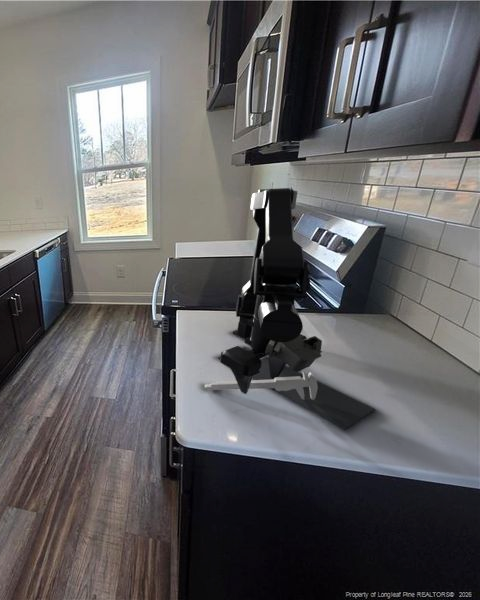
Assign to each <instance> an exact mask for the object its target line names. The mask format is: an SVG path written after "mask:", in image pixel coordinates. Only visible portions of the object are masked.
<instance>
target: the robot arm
mask: <svg viewBox="0 0 480 600" xmlns="http://www.w3.org/2000/svg"><path fill="white" fill-rule="evenodd" d="M298 192H299V191H298V190H294V189H293V188H292V189H291V188H290V187H282V188H281V187H279V188H263V189H258V190H257V191H256V192H254V193H252V195H251V199H250V200H251V201H250V211H252V217H253V220H254V222H255V224H256V226H257V230H256V236H255V243H254V249H253V257H252V265H251V269H250V270H251V271H250V275H249V276H250V277H249V280H248V281H247V282H246V284H245V285H244V286H243V287H242V288H241V294H240V295H238V296H237V300H236V304H235V305H236V306H235V317H237V318H239V319H238V323H237V329H236V330H233V331H232V334H233V335H236V336H237V337H239V338H242V339H244V344H247V345H248V346H250V349H251V350H249V351H247V350H245V349H243V347H241V346H239V345H236V346H233V347H231V348H228V349H225V350H223V351H221V352H220V356H221V358H220V359H219V361H220V364H222V365H224V366H226V367H227V368H229V369H230V370H231V372H232V374H233V376H234V379H235V381H237V383H238V386H239V388H240V389H239V390H240V392H241V393H242V394H243V395H247V394H248V392H249V390H250V389H249V386H250V383H251V380H253V378H252V376H254V375H256V374H258V373H260V371H259V369H260V368H261V364H262V362H261V359H263V358H265V357H268V359H269V370H270V376H271V378H272V379H274V378H277V377H279V375H280V374H281V372H282V370H283V369H284V367H285V366H287V367H289V368H290V369H292V370H293V371H296V372H299V373H300V372H301V371H303V370H305V369H306V368H310V367H311V366H312V365H313V363H314V362H315V361H316V360H317V359H319V358H321V357H322V353H323V351H322V346H323V344H322V343H323V341H322V340H321V339H320V338H319V337H317V336H316V335H313V336H311V337H310V336H309V337H307V336H306V335H303V334H301V333H302V332H303V329H304V324H303V321H302V318H301V317H300V314H299V312H298V310H297V308H296V306H295V301H296V299H307V295H308V294H307V292H310V289H311V273H310V270H311V268H310V266H309V265H308V261H307V259H305V257H304V250H303V247H302V245H300V244H299V243H298V242H297V241H295V240H294V231H293V213H292V210H294V209H296V205H297V198H298V197H297V196H298ZM297 283H298V286H296V285H297Z"/></svg>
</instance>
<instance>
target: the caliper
mask: <svg viewBox="0 0 480 600" xmlns="http://www.w3.org/2000/svg"><path fill="white" fill-rule="evenodd" d="M302 374H303V378H301V377H300V376H295V377H277V378H274V379H270V380H255V379H252V380H251V383H250V386H249V389H248V390H255V389H257V390H259V389H271V388H276V389H277V391H282V390H283V391H288V390H291V389H296V390H297V392H298V394H299V395H300V397H301V399H303V400H304V389H303V387H309V390H310V397H311V399H312V400H314V399H315V398H316V394H317V389H318V386H317V381H318V379H317V378H316V376H315V375H313V373H312V371H309V372H308V373H307V374H306V373H305V371H302ZM307 376H308V377H307ZM204 389H211V391H226V390H230V391H231V390H240V388H239V386H238V383H237V381H236V380H225V381H222V380H221V381H210V383H206V384H204ZM277 391H276V392H277Z"/></svg>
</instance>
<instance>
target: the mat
mask: <svg viewBox="0 0 480 600" xmlns="http://www.w3.org/2000/svg"><path fill="white" fill-rule="evenodd" d="M242 348H243V349H245V350H247V351H249V350H251V349H252V348H250V347H247V346H243V347H242ZM220 358H221V355H219V356H218V357H217V359H218V360H220ZM261 362H262V364H261V368H260V369H259V371H260V373H258V374H256V375H254V376H252V379H253V380H270V379H272V378H271V376H270V370H269V359H268V357H265V358H263V359H261ZM295 376H300V377H301V378H303V373H301V372H300V371H299V372H296V371H293V370H292V369H290V368H289V366H288V365H286V366H285V367H284V369H283V370H282V372H281V374H280V375H279V377H295ZM306 376H307V375H306ZM307 377H308V376H307ZM317 386H318V389H317V394H316V398H315V399H314V400H312V399H311V397H310V390H309V387H303V389H304V400H303V399H301V397H300V395H299V394H298V392H297V390H296V389H291V390H288V391H283V390H282V391H277V389H276V388H270V389H271V390H273V391H275V392H277V393H278V394H280V395H282V396H284V397H286V398H287V399H289V400H290V401H291V400H292V401H293V402H294V403H297V404H298V405H300V406H301V407H303V408H305V409H306V410H309V411H311V412H312V413H314V414H316V415H318V416H319V417H321V418H323V419H325V420H327V421H328V422H330V423H332V424H333V425H336V426H337V427H339V428H341V429H342V430H343V431H345V430H347V429H349V428H350V427H352V426H353V425H355V424H356V423H358V422H359V421H361V420H362V419H364V418H365V417H367V416H369V415H370V414H372V413H373V412H374V411H375V410H376V408H374V407H372V406H370V405H368V404H366V403H364V402H362V401H361V400H357V399H355V398H354V397H351V396H350V395H347V394H345V393H343V392H341V391H339V390H336V389H335V388H333V387H330V386H329V385H326V384H324V383H322V382H320V381H319V380H317Z"/></svg>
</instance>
